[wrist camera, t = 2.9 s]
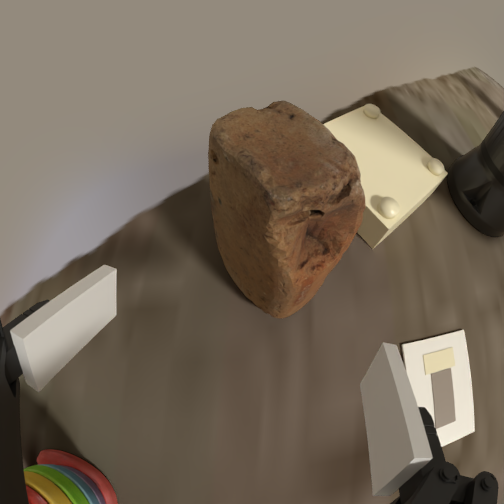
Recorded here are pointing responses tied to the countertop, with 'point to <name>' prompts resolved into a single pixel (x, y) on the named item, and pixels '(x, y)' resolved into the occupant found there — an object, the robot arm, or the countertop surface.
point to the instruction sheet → (442, 383)
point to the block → (281, 203)
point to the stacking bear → (66, 481)
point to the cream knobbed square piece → (386, 169)
